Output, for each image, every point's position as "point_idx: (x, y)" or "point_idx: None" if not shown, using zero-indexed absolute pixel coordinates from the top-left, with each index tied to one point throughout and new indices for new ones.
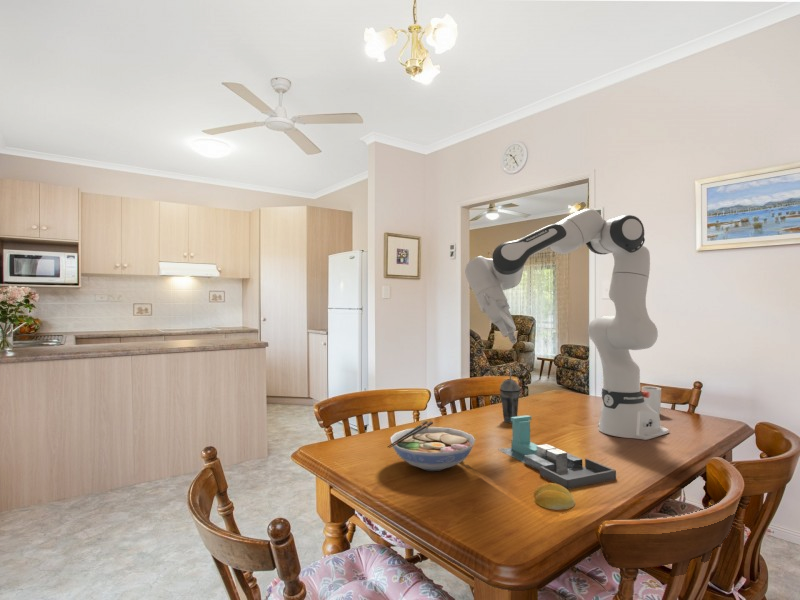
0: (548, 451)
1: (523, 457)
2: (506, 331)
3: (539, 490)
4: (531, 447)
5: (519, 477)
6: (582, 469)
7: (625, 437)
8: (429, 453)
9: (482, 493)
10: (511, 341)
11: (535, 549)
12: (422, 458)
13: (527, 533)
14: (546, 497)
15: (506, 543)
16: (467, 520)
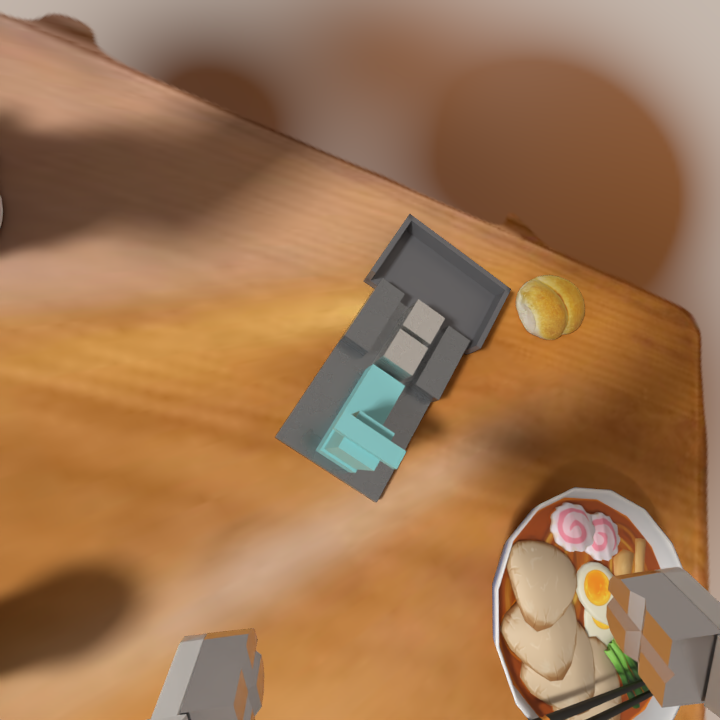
0: (432, 339)
1: (396, 417)
2: (711, 605)
3: (565, 324)
4: (386, 399)
5: (483, 393)
6: (392, 283)
7: (1, 203)
8: (671, 545)
9: (582, 424)
10: (260, 688)
11: (653, 304)
12: (658, 564)
13: (633, 322)
14: (584, 307)
15: (665, 337)
16: (659, 403)
